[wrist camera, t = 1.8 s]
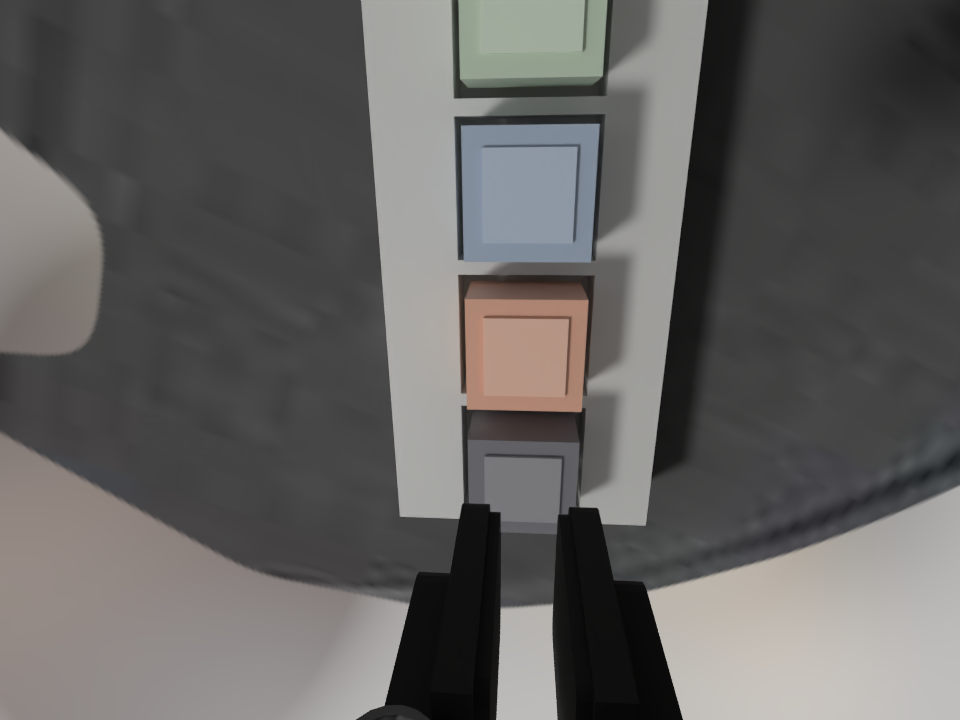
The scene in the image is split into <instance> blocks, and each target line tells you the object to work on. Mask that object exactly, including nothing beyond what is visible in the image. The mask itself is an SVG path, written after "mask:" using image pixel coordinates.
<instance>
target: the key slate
mask: <svg viewBox="0 0 960 720" xmlns="http://www.w3.org/2000/svg"><path fill="white" fill-rule="evenodd" d="M599 126H600V124H542V125H468V126H461V147H462V195H463V244H464V262H591V254H592V238H593V222H594V206H595V190H596V174H597V158H598V142H599Z"/></svg>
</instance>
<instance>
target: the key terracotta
mask: <svg viewBox="0 0 960 720" xmlns="http://www.w3.org/2000/svg"><path fill="white" fill-rule="evenodd" d="M588 302H589V300H588V298H587V295H586V293H585V291H584V288H583V286H582V284H581V282H558V281H471V284H470V286H469V289H468V292H467V294H466V297H465V340H466V388H467V409H468V410H512V411H556V412H582V397H583V381H584V365H585V349H586V333H587V317H588Z"/></svg>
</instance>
